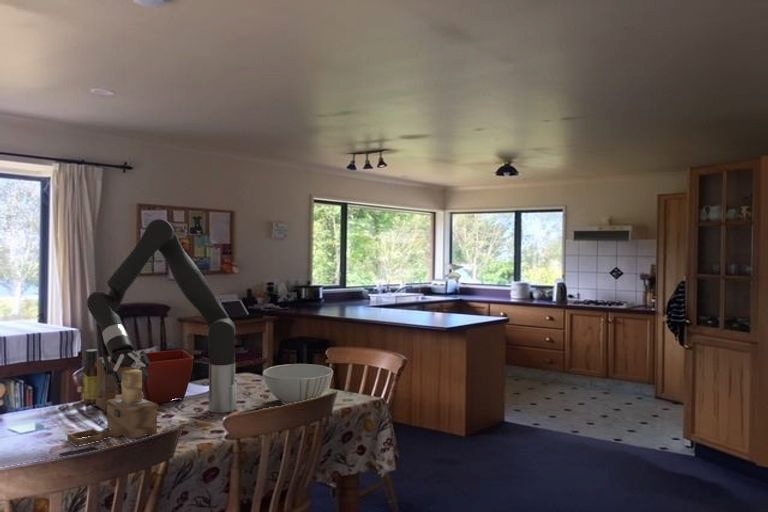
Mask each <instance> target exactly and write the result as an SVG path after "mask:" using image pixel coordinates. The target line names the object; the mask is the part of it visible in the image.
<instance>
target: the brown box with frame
mask: <svg viewBox="0 0 768 512" xmlns="http://www.w3.org/2000/svg"><path fill="white" fill-rule="evenodd" d="M106 404H107V412H106V417H107V418H106V419H107V420H106V426H107V429H108V428H109V429H108V430H107V429H106V430H103V431H98V430H96V429H95V428H90V429H87V430H83V431H82V430H81V431H77V432H74V433H67V435H66V436H67V439H66V440H68V441H70V442H72V443H73V444H75V445H77V446H79V445H83V444H88V443H92V442H96V441H101V440H104V441H105V439H104V438H108V437H112V438H115V437H114V436H116V437H120V436H119V435H121V436H122V435H123V436H122V437H124V436H125V437H124V438H126V437H127V438H126V439H128V440H132V439H131V438H133V439H136V438H135V437H137V438H141V437H144V436H143V435H145V434H150V435H153V434H156V433H158V429H157V428H158V414H157V413H158V409H159V403H153V402H151V401H148V400H146V399H145V398H143V397H142V402H136V403H131V404H127V403H124V402H122V396H121V397H117V398H116V397H115V399H110V400H106ZM110 429H111V430H110ZM88 436H91V437H88ZM140 436H141V437H140ZM145 436H146V435H145ZM82 437H87V438H82ZM78 438H82V439H78ZM108 439H109V438H108ZM68 441H67V442H68ZM70 442H69V443H70ZM101 442H102V441H101ZM72 443H71V444H72ZM73 444H72V445H73ZM75 445H74V446H75ZM88 445H89V444H88ZM77 446H76V447H77Z"/></svg>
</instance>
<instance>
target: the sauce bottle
mask: <svg viewBox="0 0 768 512" xmlns="http://www.w3.org/2000/svg"><path fill="white" fill-rule="evenodd" d="M85 356H86V358H85V359H86V360H85V363H84V367H83V370H82V398H83V402H84V403H85V404H93V403H94V404H96V396H97V358H98V349H96V348H91V349H86V350H85Z"/></svg>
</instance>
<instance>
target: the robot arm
mask: <svg viewBox="0 0 768 512" xmlns="http://www.w3.org/2000/svg"><path fill="white" fill-rule="evenodd" d="M157 251H159V253H160V254H161V255H162V257H163V258H164V259H165V261H166V263H167V266H168V268H169V270H170V272H171V275H172V277H173V279H174V281H175V282H176V284H177V286H178V288H179V289H180V291H181V292H182V294H183V295H184V296H185V298H186V299H187V300H188V301H189V303H191V305H192V306H193V307H194V308H195V309H196V310H197V311H198V312H199V313H200V314H201V316H202V317H203V319H204V321H205V323H206V326H207V327H208V332H207V347H208V348H207V349H208V350H207V352H208V353H207V355H208V364H209V365H208V411H209V412H211V413H215V414H221V413H222V414H224V413H232V412H235V411H234V410H236V409H237V403H238V402H237V400H238V399H237V389H238V388H237V385H238V384H237V383H238V382H236V352H235V337H236V332H237V328H236V325H235V323H234V322H233V321H232V319H231V318H230V317H229V316H228V314H227V313H226V312H225V311H224V310H223V308H222V307H221V305H220V303H219V301H218V300H217V298H216V296H215V294H214V292H213V290H212V288H211V287H210V285H209V282H207V279H206V278H205V276H204V275H203V273H202V272H201V270H200V269H199V267H198V266H197V265H196V263H195V262H194V260H193V259H191V257H190V256H189V255H188V253H187V252H186V251H185V249H184V248H183V246H182V244H181V242H180V240H179V238H178V235H177V233H176V232H175V229H174V227H173V225H172V224H171V223H170V222H169V221H168V220H165V219H162V218H156V219H153V220H151V221H150V222H149V223H148V224H147V226H146V229H145V230H144V232H143V234H142V235H141V237H140V239H139V241H138V242H137V244H136V245H135V247H134V248H133V249H132V251H131V252H130V253H129V255H128V256H127V257H126V258H125V259H124V261H122V263H121V264H120V265H119V267H118V268H116V270H115V271H114V272H113V274H112V275H111V276H110V277H109V279H108V280H107V283H106V285H107V286H108V287H109V292H108V294H107V293H105V292H102V291H94V292H92V293H90V294H89V295H88V297H87V301H86V306H87V309H88V311H89V313H90V314H91V316H92V317H93V319H94V321H96V323H97V324H98V327H99V329H100V331H101V334H102V338H103V339H102V340H103V343H104V345H105V347H106V350H107V352H108V355H109V356H108V355H103V356H102V357H103V359H102V361H101V362H102V365H103V369H104V372H105V374H106V375H108V374H111V375H112V376H113V378H114V381H115V384H117V385H122V376H121V375H120V372H119V371H118V369H119V368H121V369H125V368H131V367H132V368H133V369H136V368H137V369H138V370H141V371H142V378H143V380H146V379H147V377H148V372H147V370H146V369H147V368H148V366H149V365H150V362H149V360H148V358H147V356H146V354H145V353H146V351H144V350H141V351H140V352H135V350H134V346H133V344H132V341H131V339H130V337H129V334H128V332H127V330H126V329H125V326H124V324H123V322H122V320H121V317H120V315H119V314H118V313H116V312H117V311H118V310H119V308H120V305H121V304H122V301H123V299H124V297H125V294H126V292H127V291H128V290H129V289H130V287H131V286H132V285H133V283H134V282H135V280H137V278H138V277H139V275H140V274H141V272H142V271H143V269H144V268H145V266H146V264H147V263H148V261H150V258H151V257H153V255H154V254H155V253H156V252H157ZM136 357H138V358H139V359H140V360H141V361H140V360H139V359H138V358H136ZM134 361H135V362H136V364H135V362H134ZM110 362H111V363H113V364H114V367H113V368H112V367H111V364H110ZM139 365H140V366H139Z"/></svg>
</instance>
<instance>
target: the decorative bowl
mask: <svg viewBox="0 0 768 512" xmlns="http://www.w3.org/2000/svg"><path fill="white" fill-rule="evenodd" d="M333 375H334V370H333V369H332V368H331V367H329V366H325V365H321V364H308V363H293V364H289V363H288V364H282V365H281V364H280V365H274V366H271V367H268V368H266V369H263V371H262V378H263V379H264V383H265V384H266V385H265V386H266V387H267V389H268V390H269V392H270V393H271V394H272V395H273V396H274V397H275V398H276V399H278V400H279V401H281V404H282V405H284V404H289V403H294V402H299V401H303V400H307V399H311V398H316V397H318V398H320V397H321V396H322V394H323V393H324V392H326V390H327V388H328V387H329V385H330V383H331V381H332V378H333Z"/></svg>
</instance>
